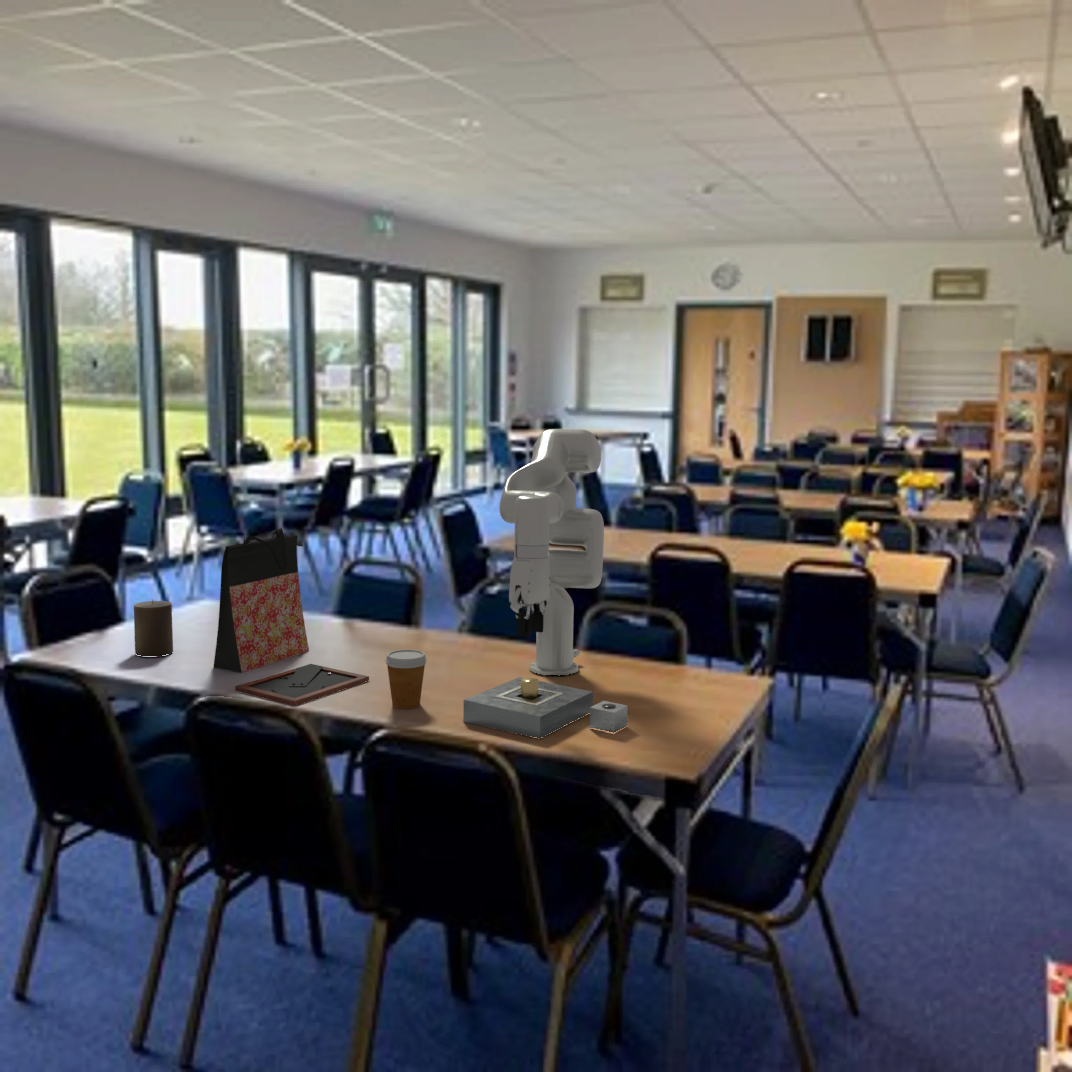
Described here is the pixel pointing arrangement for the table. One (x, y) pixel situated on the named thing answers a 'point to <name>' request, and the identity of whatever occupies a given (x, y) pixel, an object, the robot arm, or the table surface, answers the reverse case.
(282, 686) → the picture frame
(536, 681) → the brass pin
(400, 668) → the disposable coffee cup
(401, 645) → the table surface
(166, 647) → the pillar candle
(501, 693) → the block
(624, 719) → the block
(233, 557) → the gift bag
